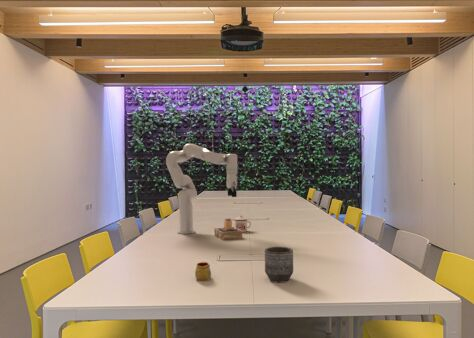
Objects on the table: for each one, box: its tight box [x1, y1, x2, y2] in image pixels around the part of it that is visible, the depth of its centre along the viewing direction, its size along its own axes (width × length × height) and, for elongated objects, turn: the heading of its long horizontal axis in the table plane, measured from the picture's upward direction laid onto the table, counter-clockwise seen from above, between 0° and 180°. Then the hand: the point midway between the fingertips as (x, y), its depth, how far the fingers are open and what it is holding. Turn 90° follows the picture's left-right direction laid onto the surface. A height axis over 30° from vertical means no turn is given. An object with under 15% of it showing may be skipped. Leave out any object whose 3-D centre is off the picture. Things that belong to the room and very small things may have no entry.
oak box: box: [213, 226, 243, 241], centre depth 266 cm, size 17×14×6 cm
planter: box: [264, 246, 294, 283], centre depth 169 cm, size 12×12×13 cm
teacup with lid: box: [234, 214, 252, 233], centre depth 286 cm, size 12×9×12 cm
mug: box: [194, 261, 212, 281], centre depth 174 cm, size 12×7×7 cm, turn 177°
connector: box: [223, 218, 233, 230], centre depth 266 cm, size 4×4×11 cm
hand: (232, 196), depth 273 cm, fingers open, 9 cm apart
